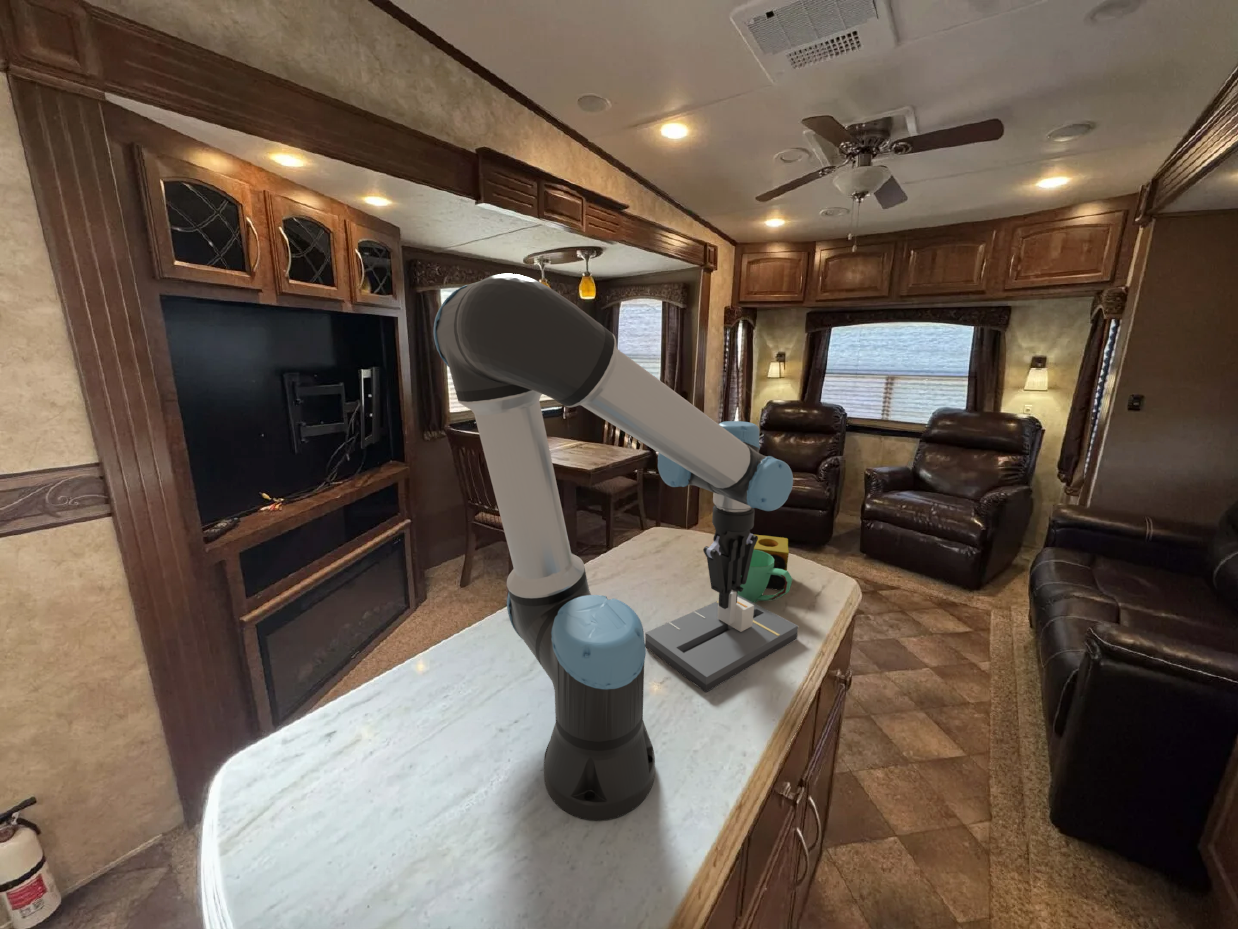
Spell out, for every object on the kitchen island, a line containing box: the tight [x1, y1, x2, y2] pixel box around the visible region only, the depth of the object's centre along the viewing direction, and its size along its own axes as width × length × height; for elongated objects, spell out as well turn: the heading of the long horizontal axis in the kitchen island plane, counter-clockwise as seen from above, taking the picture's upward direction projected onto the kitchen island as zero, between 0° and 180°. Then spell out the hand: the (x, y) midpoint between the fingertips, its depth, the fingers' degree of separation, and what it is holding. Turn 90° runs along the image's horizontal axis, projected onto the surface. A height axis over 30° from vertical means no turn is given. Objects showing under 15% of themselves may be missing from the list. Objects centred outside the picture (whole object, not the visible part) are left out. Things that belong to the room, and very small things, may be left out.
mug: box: [738, 550, 793, 603], centre depth 110 cm, size 15×10×10 cm
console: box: [644, 595, 799, 693], centre depth 95 cm, size 26×16×3 cm, turn 127°
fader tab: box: [717, 597, 754, 632], centre depth 96 cm, size 4×6×6 cm, turn 36°
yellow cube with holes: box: [747, 533, 790, 591], centre depth 120 cm, size 10×10×10 cm
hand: (726, 620), depth 95 cm, fingers closed
